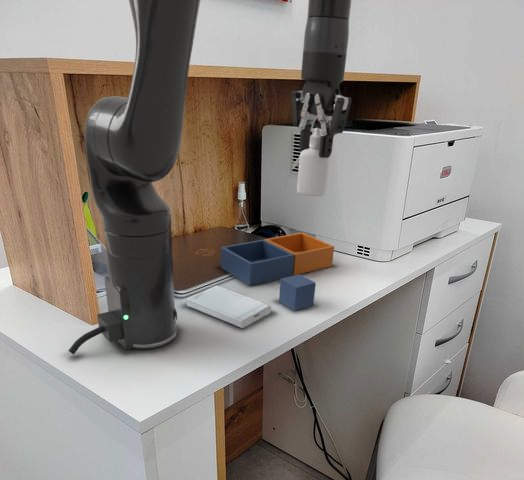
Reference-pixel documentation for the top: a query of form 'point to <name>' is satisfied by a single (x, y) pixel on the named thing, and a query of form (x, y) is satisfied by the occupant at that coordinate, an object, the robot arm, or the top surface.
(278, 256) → the blue bin
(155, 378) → the top surface
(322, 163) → the eye dropper bottle
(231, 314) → the hard drive
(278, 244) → the amber bin
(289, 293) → the blue block
